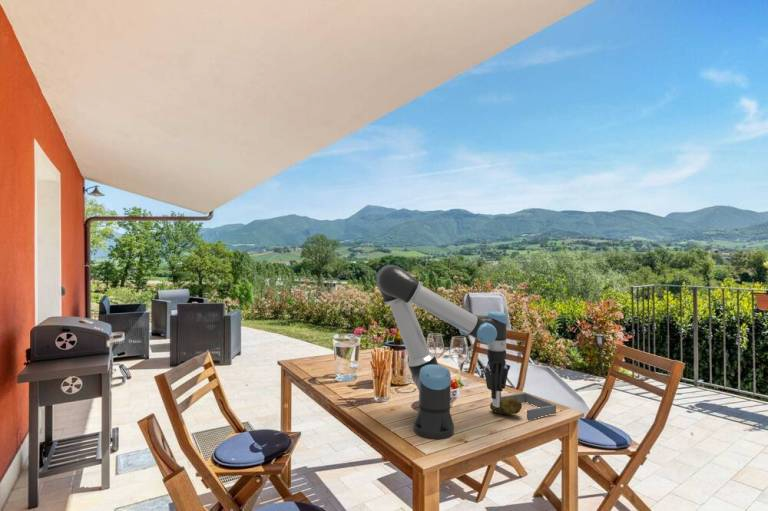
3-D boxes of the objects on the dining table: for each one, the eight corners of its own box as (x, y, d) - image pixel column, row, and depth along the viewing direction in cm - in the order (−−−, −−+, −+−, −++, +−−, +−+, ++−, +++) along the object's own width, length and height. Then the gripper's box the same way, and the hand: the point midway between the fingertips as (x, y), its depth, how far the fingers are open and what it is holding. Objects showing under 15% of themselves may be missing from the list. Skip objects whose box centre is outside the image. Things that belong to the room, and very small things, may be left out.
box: (528, 420, 173) (528, 410, 173) (498, 405, 189) (499, 396, 189) (555, 414, 180) (556, 405, 180) (525, 401, 196) (525, 392, 196)
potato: (501, 408, 186) (502, 390, 186) (524, 418, 175) (525, 399, 175) (487, 411, 182) (487, 392, 182) (510, 422, 171) (510, 402, 171)
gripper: (490, 352, 170) (489, 411, 170) (515, 349, 176) (514, 406, 176) (478, 348, 177) (477, 405, 177) (502, 346, 183) (502, 401, 183)
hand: (495, 406), depth 177 cm, fingers closed
